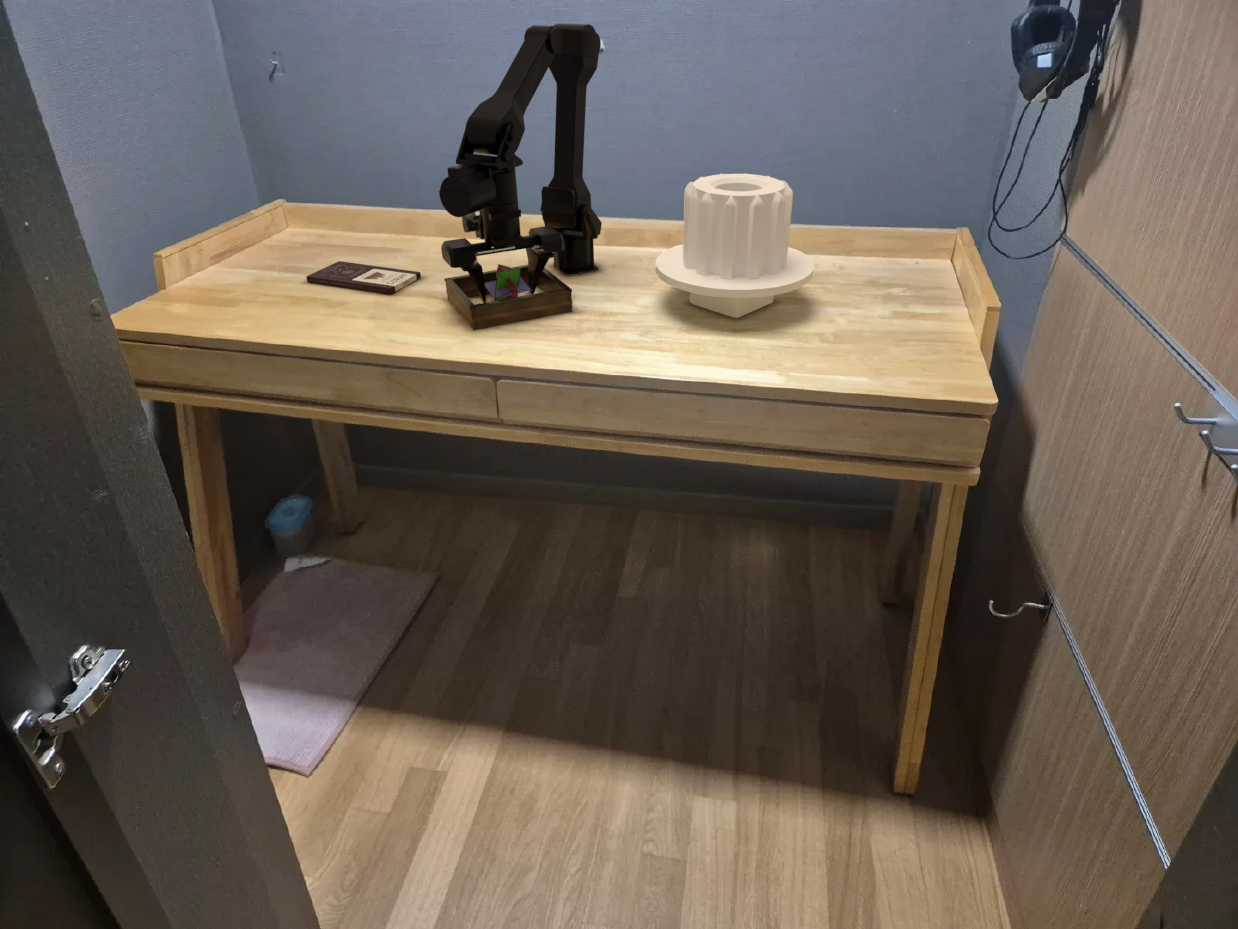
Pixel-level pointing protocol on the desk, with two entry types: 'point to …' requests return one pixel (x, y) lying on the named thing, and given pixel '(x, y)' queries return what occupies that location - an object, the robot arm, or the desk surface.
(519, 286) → the geometric puzzle
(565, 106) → the robot arm
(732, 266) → the ribbed cylinder on disc
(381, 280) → the chocolate bar
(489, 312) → the square wooden frame
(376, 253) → the desk surface
